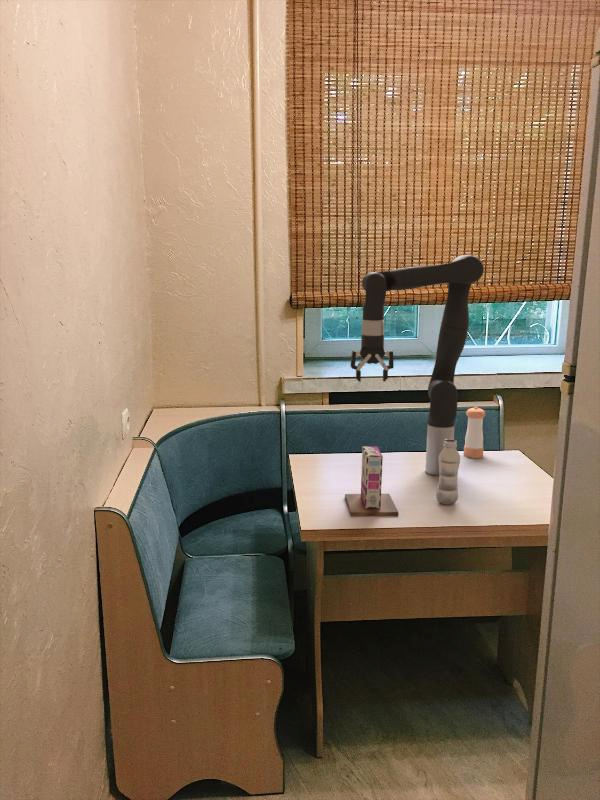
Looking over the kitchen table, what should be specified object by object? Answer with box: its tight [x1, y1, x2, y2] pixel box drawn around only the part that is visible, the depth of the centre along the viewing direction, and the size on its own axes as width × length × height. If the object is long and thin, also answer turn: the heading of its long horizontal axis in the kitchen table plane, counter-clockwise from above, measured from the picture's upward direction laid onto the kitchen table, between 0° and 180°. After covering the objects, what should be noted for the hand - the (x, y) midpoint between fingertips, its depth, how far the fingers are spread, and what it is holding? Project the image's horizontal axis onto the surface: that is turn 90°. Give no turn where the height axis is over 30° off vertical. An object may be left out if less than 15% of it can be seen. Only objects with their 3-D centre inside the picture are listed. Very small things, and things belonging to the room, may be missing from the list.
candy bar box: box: [360, 445, 384, 509], centre depth 211 cm, size 11×5×16 cm, turn 2°
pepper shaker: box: [463, 406, 486, 459], centre depth 265 cm, size 7×7×19 cm
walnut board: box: [344, 493, 399, 517], centre depth 213 cm, size 14×16×1 cm
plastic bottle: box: [435, 439, 461, 505], centre depth 214 cm, size 6×7×20 cm
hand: (371, 381), depth 237 cm, fingers open, 8 cm apart
